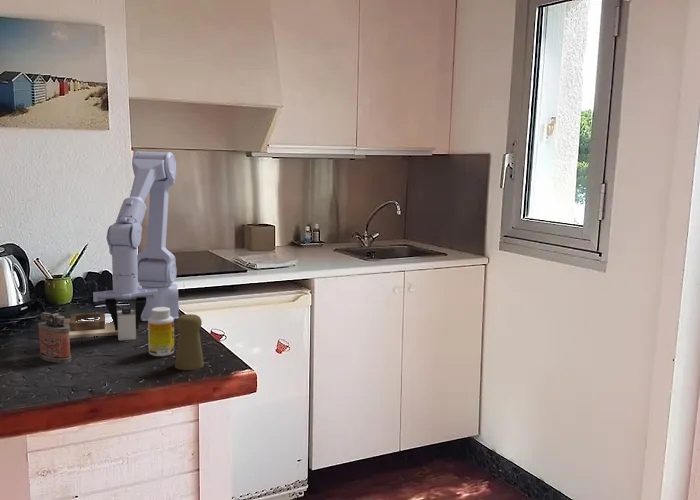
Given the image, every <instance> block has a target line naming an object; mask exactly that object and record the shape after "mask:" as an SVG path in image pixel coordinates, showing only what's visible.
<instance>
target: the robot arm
mask: <svg viewBox="0 0 700 500" xmlns="http://www.w3.org/2000/svg"><path fill="white" fill-rule="evenodd" d="M131 166H132V172H133V175H134V179H133V182H132V186H131V190H130V195H129V197H127V198H124V199H123V202H122V203H121V205H120V209H119V212H118V214H117V218H116V220H115V222H114V223H113V224H111V225H109V226H108V227H107V228H108V229H107V232H106V242H107V245H108V248H109V250H108V251H109V254H110V255H111V267H112V268H111V269H112V271H111V272H112V273H111V274H112V290H103V291H94V292H92V293H93V294H92V297H93V302H94V303H95V302H96V303H97V302H103V301H105V307H106V308H107V311H108V313H109V314H110V316H111V317H112V319H113V322H114V326H115V331H117V330H118V317H117V311H118V310H117V309H118V308H117V307H118V306H117V301H122V300H123V301H124V300H126V301H127V300H134V306H135V309H134V310H135V318H136V330H139V326H140V321H142V322H148V319H149V318H150V317H152V309H153V308H156V307H168V308H170V316H172V317H173V318H174V320H177V319H178V317H179V311H180V305H179V289H178V284H177V283H174V282H175V280H176V279H177V272H178V271H177V264H176V262H177V261H176V256H175V255H174V254H173V253H172V252H171V251H169V250H168V249H167V248H166V247H167V231H168V230H167V228H168V213H169V199H170V198H169V197H170V196H169V195H170V187H172V186H174V185H175V184H176V178H177V177H176V176H177V161H176V158H175V156H174V154H173V153H172V152H171V151H168V152H167V151H166V152H163V151H162V152H160V151H158V152H156V151H141V150H140V151H139V150H137V151H136V152H135V153H134V154H133V156H132V160H131ZM148 194H149V201H148V208H147V205H146V203H145V201H146V199H147V197H148ZM147 209H148V216H147V217H148V219H147V231H146V233H147V235H146V248H144V249H143V250H142V251H140V252H139V253H138V247H140V245H141V242H142V231H143V226H142V224H143V221H144V218H145V214H146V212H147ZM153 259H154V260H153ZM155 259H156V260H155ZM138 282H139V285H140V286H142V289H138Z"/></svg>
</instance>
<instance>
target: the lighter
mask: <svg viewBox="0 0 700 500" xmlns="http://www.w3.org/2000/svg"><path fill="white" fill-rule="evenodd" d="M40 319H41V320H45V321H43V322H38V323H37V328H38V333H39V334H38V335H39V351H40V352H39V353H38V355H39V356H38V357H39V359H41V360H43V361H44V360H45V361H48V362H53V363H59V364H65V363H69V362H71V361H72V355H71V344H70V343H71V342H70V339H71V338H70V337H69V331H70V326H68V325H65V324H64V319H65V316H63V315H60V313H58V312H55V313H51V312H46V311H45V312H41V313H40Z"/></svg>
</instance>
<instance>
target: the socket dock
mask: <svg viewBox="0 0 700 500" xmlns="http://www.w3.org/2000/svg"><path fill="white" fill-rule="evenodd" d="M105 316H106V312H104V311H103V312H99V311H98V312H84V313H83V312H82V313H71V314H70V318H64V324H65V325H68V326H70V331H69V337H70V339H80V338H81V337H82V338H95V337H96V336H98V337H111V336H118V330H117V331H115V326H114V322H113V321H112V322H110V323H106V324H105ZM92 317H100V319H99V320H94V321H78V320H81V319H86V318H92ZM76 321H77V322H76ZM94 336H95V337H94ZM82 338H81V339H82ZM96 338H97V337H96Z"/></svg>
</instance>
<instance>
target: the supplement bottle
mask: <svg viewBox="0 0 700 500" xmlns="http://www.w3.org/2000/svg"><path fill="white" fill-rule="evenodd" d="M147 339H148V340H147V341H148V353H149V355H151V356H153V357H166V356H167V357H168V356H170V355H172V354H174V352H175V319H174V318H173V317H172V316H170V308H168V307H156V308H153V309H152V317H150V318H149V319H148V321H147Z"/></svg>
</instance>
